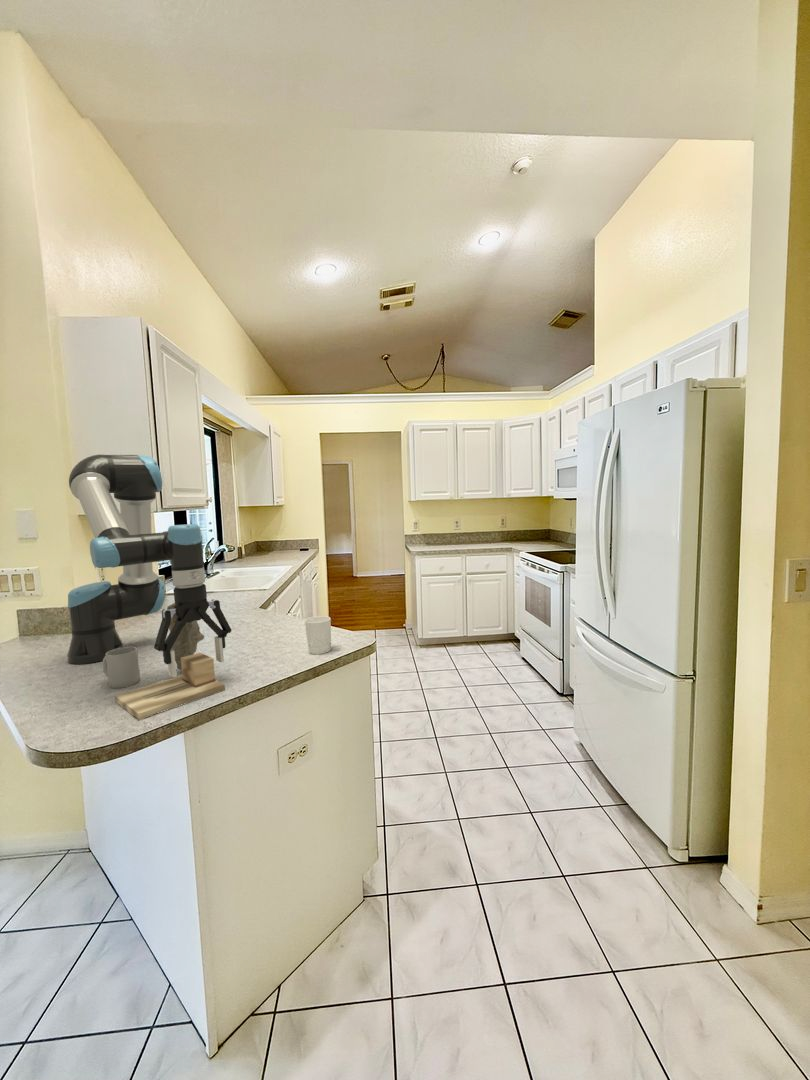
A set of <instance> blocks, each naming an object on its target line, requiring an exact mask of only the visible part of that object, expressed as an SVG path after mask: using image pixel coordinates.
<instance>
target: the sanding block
mask: <svg viewBox="0 0 810 1080" xmlns="http://www.w3.org/2000/svg"><path fill="white" fill-rule="evenodd" d="M214 661H215V659H214V658H213V657H211V656H209V655H206V654H205V653H202V652H197V653H196V652H195V653H194V654H193V655H189V656H185V657H182V658H181V668H182V670H181V675H182V680H183V681H184V682H186V683H188V684H190V685H192V686H193V687H195V688H196V687H199V686H202V685H205V684H208V683H212V682H215V681H216V680H217V679H216V674H215V673H216V672H215V662H214Z"/></svg>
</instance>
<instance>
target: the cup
mask: <svg viewBox="0 0 810 1080" xmlns="http://www.w3.org/2000/svg"><path fill="white" fill-rule="evenodd" d="M139 664H140V663H139V656H138V648H137V647H136V646H124V647H123V648H118V649H114V650H111V651H109V652H107V653H106V656H105V657H104V659H103V661H102V664H101V665H102V671H103V673H104V675H105V676H106V677H107V679H108V686H109V687H110V688H111V689H122V688H126V687H130V686H133V685H136V684H137V683H138V682H139V681H140V679H141V675H140V666H139Z"/></svg>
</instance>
